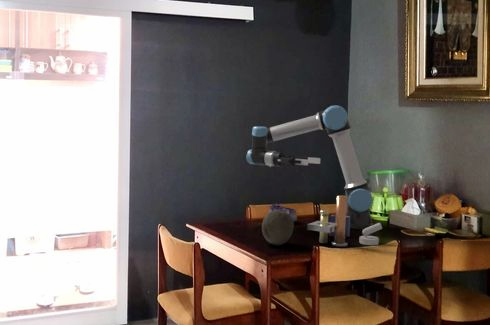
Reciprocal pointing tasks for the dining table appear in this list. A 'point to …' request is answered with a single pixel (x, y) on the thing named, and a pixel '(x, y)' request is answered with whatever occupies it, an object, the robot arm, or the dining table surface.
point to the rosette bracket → (334, 227)
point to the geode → (284, 210)
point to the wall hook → (370, 239)
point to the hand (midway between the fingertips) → (314, 161)
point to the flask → (347, 225)
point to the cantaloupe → (277, 227)
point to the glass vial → (324, 222)
